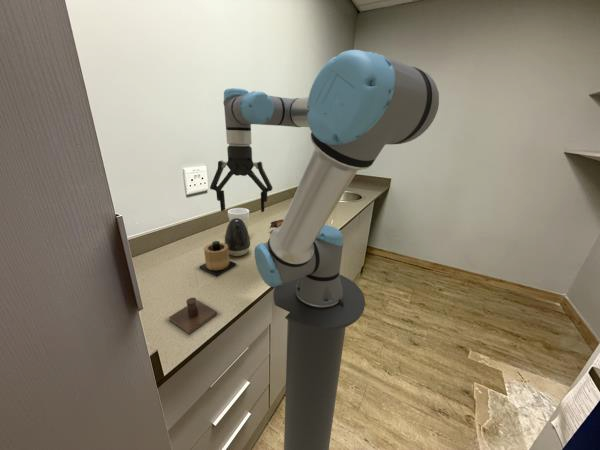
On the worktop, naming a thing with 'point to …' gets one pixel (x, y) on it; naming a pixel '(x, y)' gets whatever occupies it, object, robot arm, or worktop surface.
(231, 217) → the foam cup
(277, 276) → the robot arm
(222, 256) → the maple ring
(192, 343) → the worktop surface
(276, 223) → the pottery mug
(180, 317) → the low peg stand
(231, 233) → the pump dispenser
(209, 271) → the square base peg
